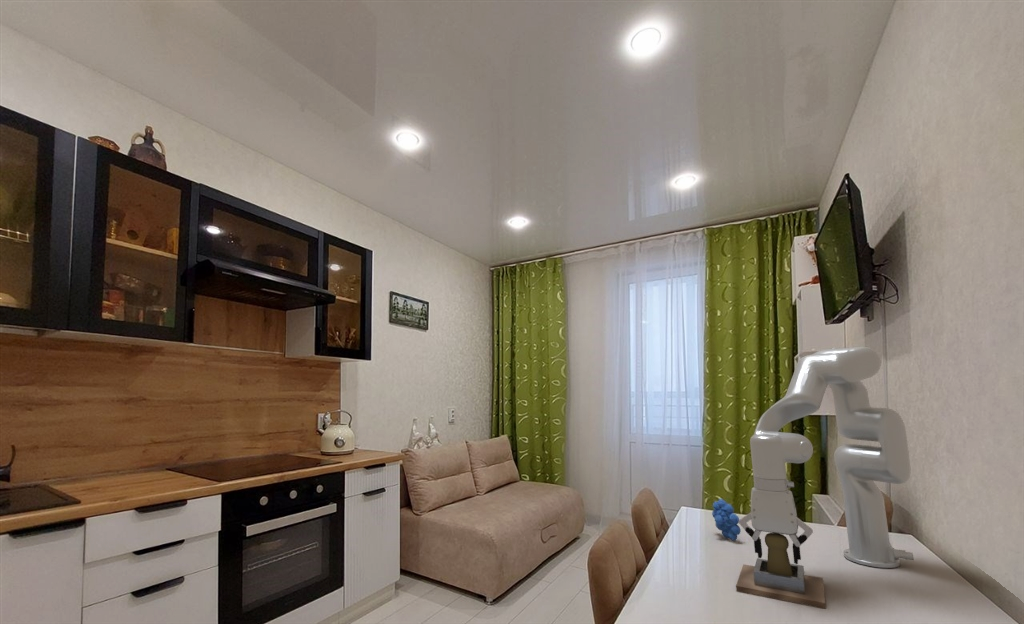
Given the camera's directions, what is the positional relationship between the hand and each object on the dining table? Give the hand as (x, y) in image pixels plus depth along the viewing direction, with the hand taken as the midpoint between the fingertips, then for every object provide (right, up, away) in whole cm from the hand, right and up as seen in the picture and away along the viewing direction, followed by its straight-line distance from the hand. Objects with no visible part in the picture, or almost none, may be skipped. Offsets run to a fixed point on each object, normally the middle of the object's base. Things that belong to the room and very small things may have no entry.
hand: (777, 558), depth 115 cm
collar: (0, -5, -1) cm, 5 cm away
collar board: (0, -6, -1) cm, 6 cm away
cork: (0, -5, -1) cm, 5 cm away
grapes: (+3, -13, +35) cm, 38 cm away
